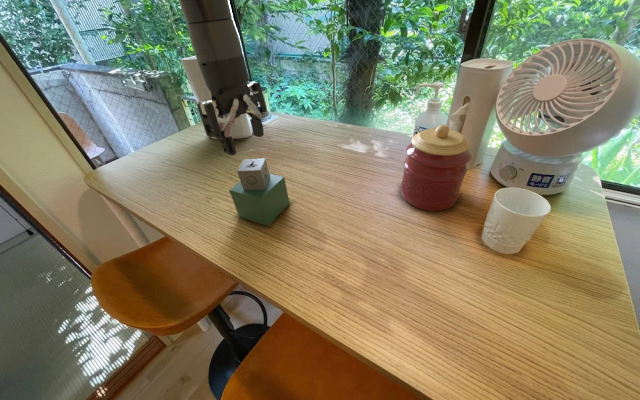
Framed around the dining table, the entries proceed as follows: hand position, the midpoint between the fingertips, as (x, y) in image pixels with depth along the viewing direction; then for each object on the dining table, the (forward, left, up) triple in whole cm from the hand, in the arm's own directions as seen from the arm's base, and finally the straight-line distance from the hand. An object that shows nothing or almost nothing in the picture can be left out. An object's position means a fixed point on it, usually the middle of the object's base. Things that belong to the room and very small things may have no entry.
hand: (246, 144), depth 52 cm
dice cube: (0, 0, -10) cm, 10 cm away
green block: (0, 0, -18) cm, 18 cm away
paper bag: (+36, +41, -18) cm, 58 cm away
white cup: (+10, -50, -18) cm, 54 cm away
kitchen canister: (+20, -35, -18) cm, 44 cm away
